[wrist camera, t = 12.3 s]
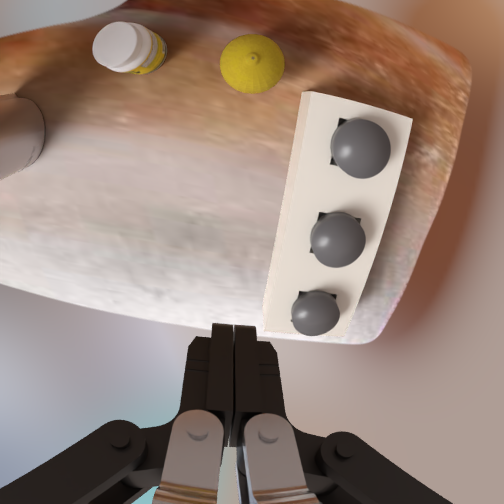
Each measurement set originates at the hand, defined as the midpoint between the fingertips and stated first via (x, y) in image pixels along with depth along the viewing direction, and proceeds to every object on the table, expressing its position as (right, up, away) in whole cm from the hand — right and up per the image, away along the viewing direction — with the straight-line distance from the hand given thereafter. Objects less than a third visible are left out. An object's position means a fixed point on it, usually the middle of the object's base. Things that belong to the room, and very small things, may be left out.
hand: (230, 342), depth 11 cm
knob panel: (+9, +7, +24) cm, 26 cm away
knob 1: (+8, -1, +27) cm, 28 cm away
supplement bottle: (-10, +23, +15) cm, 29 cm away
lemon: (+1, +21, +16) cm, 27 cm away
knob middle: (+9, +7, +22) cm, 25 cm away
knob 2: (+10, +14, +18) cm, 25 cm away
